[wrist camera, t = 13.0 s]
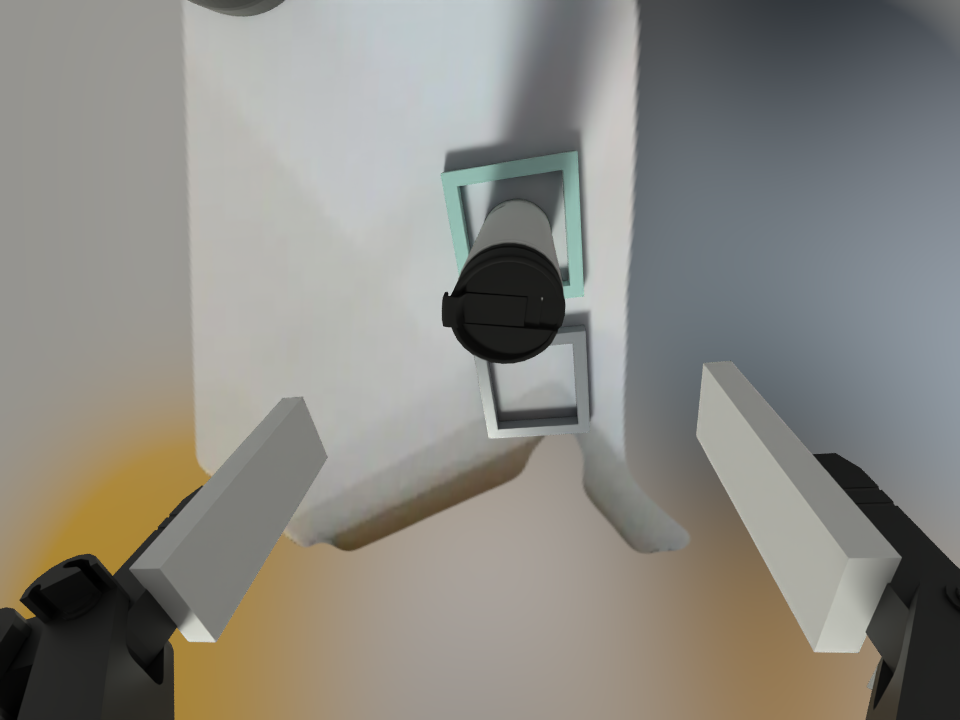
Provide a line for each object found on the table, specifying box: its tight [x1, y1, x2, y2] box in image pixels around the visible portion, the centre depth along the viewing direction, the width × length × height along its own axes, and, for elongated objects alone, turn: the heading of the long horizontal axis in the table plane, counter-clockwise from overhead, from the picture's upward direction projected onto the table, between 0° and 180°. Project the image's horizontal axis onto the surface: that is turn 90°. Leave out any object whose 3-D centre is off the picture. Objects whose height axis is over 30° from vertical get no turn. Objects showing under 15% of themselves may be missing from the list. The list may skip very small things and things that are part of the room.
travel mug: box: [442, 199, 565, 364], centre depth 31 cm, size 6×7×20 cm
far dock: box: [474, 325, 590, 439], centre depth 45 cm, size 16×11×2 cm
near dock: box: [441, 150, 584, 298], centre depth 39 cm, size 12×11×2 cm
